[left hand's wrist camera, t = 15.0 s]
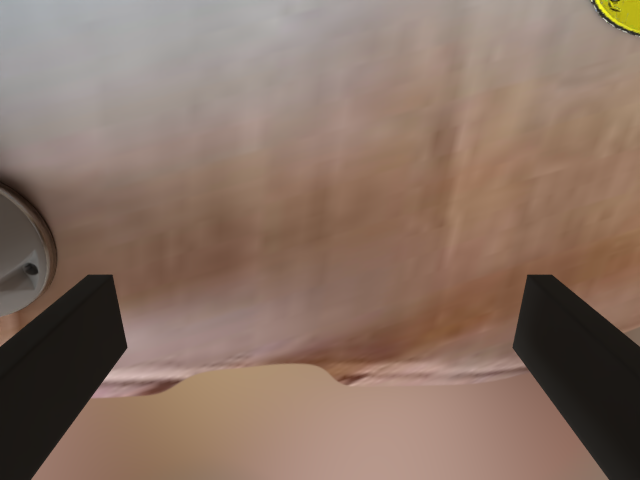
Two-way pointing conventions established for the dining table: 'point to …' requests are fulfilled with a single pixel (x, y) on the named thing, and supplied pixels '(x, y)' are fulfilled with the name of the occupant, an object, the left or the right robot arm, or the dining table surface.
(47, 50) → the dining table surface
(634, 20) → the toy
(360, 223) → the dining table surface
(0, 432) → the left robot arm
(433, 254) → the dining table surface
